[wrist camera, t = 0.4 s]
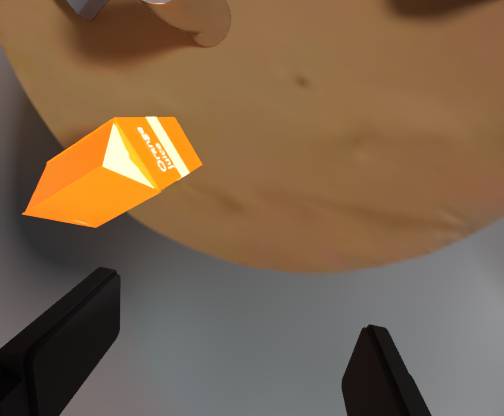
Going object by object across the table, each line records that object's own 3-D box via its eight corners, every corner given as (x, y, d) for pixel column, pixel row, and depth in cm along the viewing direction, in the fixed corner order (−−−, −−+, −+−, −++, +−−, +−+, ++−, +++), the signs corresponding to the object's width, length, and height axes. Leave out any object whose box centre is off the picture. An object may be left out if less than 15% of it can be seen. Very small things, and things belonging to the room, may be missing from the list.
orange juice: (125, 146, 40) (-13, 172, 21) (174, 115, 38) (68, 115, 19) (155, 192, 42) (52, 254, 23) (203, 165, 40) (133, 210, 21)
